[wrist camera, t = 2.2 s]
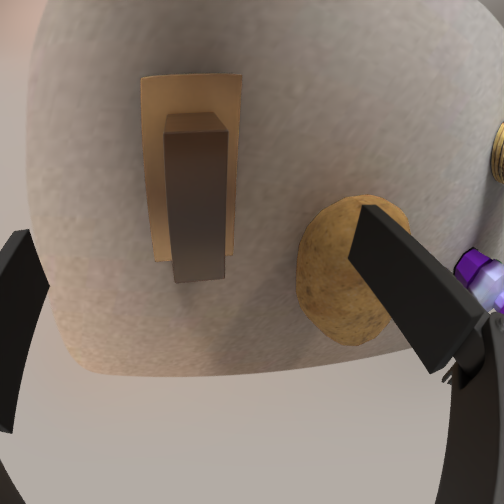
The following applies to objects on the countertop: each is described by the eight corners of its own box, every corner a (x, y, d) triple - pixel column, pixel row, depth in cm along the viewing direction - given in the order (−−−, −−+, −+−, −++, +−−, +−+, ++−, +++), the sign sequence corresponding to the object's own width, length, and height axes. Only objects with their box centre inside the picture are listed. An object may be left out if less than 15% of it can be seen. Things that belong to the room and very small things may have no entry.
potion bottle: (486, 257, 35) (534, 307, 26) (450, 294, 37) (495, 351, 28) (481, 226, 30) (541, 283, 21) (440, 270, 33) (496, 336, 23)
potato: (290, 314, 30) (318, 380, 23) (266, 189, 21) (310, 255, 15) (374, 283, 30) (413, 337, 24) (381, 160, 21) (449, 207, 15)
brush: (147, 75, 14) (125, 82, 8) (230, 73, 16) (268, 79, 9) (156, 232, 21) (154, 315, 15) (224, 227, 22) (249, 305, 16)
